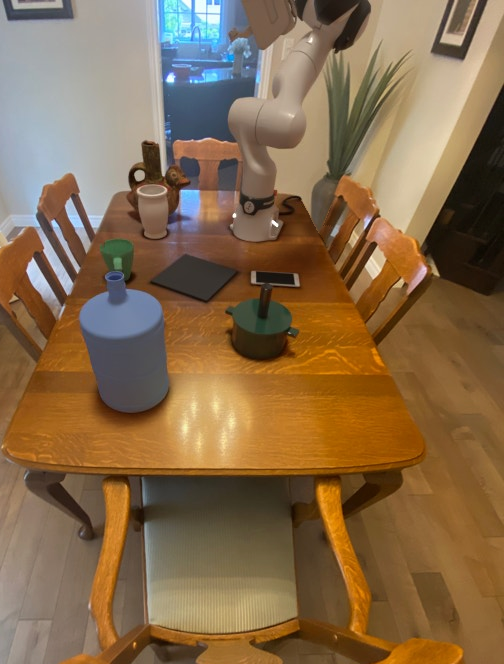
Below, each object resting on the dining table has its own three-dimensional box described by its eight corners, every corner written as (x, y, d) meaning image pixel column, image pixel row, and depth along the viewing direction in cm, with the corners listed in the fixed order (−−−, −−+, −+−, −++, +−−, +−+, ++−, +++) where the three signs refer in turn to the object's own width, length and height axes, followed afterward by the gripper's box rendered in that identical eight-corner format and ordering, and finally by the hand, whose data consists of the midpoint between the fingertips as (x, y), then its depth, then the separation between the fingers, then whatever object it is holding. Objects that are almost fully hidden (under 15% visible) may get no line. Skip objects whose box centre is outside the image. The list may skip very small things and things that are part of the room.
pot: (237, 316, 102) (239, 292, 96) (301, 339, 96) (308, 315, 90) (213, 343, 94) (214, 319, 88) (281, 370, 88) (287, 346, 82)
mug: (105, 270, 117) (99, 239, 109) (136, 268, 118) (132, 237, 110) (106, 296, 107) (99, 264, 100) (139, 293, 108) (135, 261, 101)
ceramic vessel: (185, 230, 136) (184, 152, 118) (120, 222, 140) (108, 145, 121) (196, 212, 147) (196, 138, 129) (135, 205, 151) (127, 132, 132)
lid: (247, 296, 96) (251, 263, 89) (300, 313, 92) (308, 280, 85) (221, 325, 88) (223, 291, 81) (277, 346, 83) (285, 312, 76)
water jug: (159, 419, 77) (146, 307, 56) (89, 409, 79) (50, 296, 58) (176, 369, 87) (170, 258, 66) (113, 360, 89) (88, 249, 68)
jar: (165, 242, 130) (162, 197, 119) (137, 239, 131) (132, 194, 120) (172, 229, 137) (170, 185, 126) (146, 226, 138) (142, 182, 127)
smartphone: (251, 270, 117) (298, 273, 116) (250, 272, 117) (297, 275, 117) (251, 282, 112) (300, 286, 111) (250, 284, 112) (299, 287, 112)
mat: (185, 256, 124) (185, 253, 123) (237, 272, 117) (238, 270, 117) (150, 283, 112) (150, 280, 112) (206, 302, 106) (206, 300, 105)
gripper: (300, 19, 78) (242, 62, 84) (259, -124, 64) (193, -58, 70) (302, 27, 74) (241, 72, 81) (259, -122, 60) (190, -53, 67)
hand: (218, 11), depth 75 cm, fingers open, 8 cm apart
